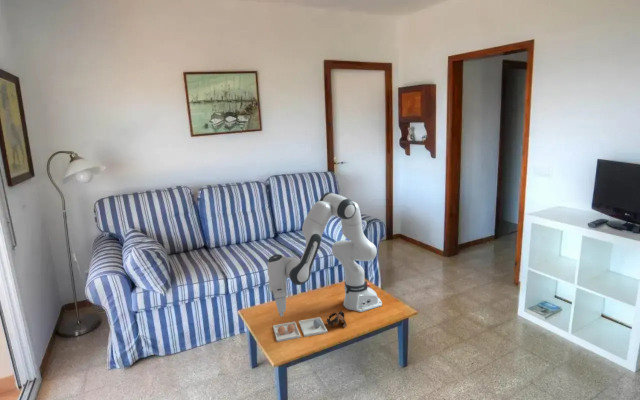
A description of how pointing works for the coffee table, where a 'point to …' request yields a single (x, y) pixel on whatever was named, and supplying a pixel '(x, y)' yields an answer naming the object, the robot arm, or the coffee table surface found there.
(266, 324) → the coffee table surface
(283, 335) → the dish
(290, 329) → the terracotta ball
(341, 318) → the pottery mug
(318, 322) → the ball grey
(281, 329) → the terracotta ball
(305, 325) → the dish
